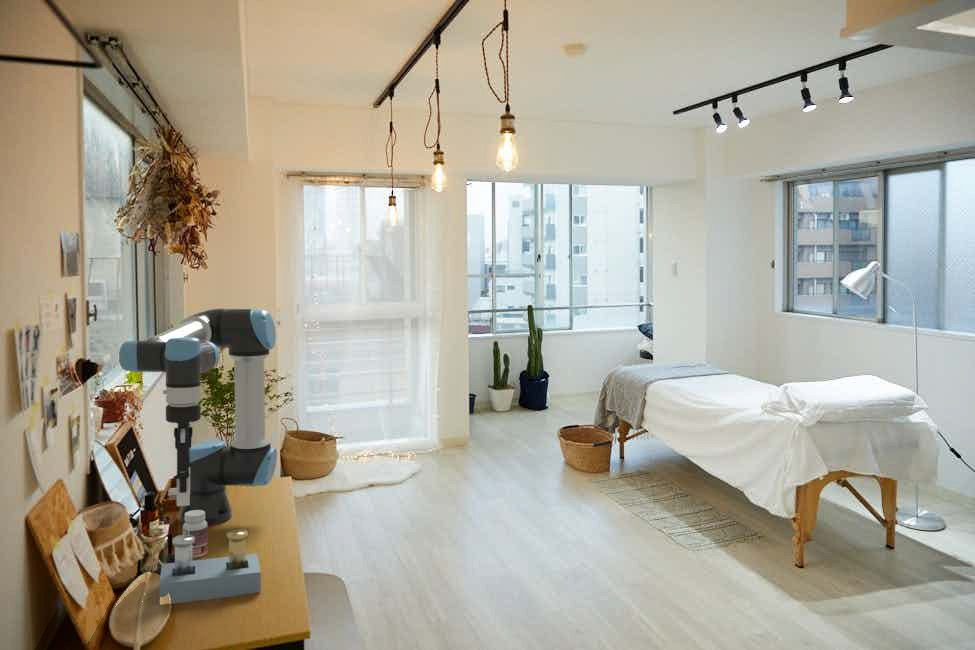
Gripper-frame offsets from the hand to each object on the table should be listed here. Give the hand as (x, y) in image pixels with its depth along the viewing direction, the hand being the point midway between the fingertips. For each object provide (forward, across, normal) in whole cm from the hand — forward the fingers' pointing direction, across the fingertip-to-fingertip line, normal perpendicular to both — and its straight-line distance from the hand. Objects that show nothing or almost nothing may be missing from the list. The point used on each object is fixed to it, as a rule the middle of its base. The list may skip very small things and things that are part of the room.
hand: (183, 499), depth 171 cm
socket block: (+22, 0, +6) cm, 23 cm away
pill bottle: (+22, -24, +2) cm, 33 cm away
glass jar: (+18, 0, +12) cm, 21 cm away
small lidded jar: (+18, 0, 0) cm, 18 cm away
